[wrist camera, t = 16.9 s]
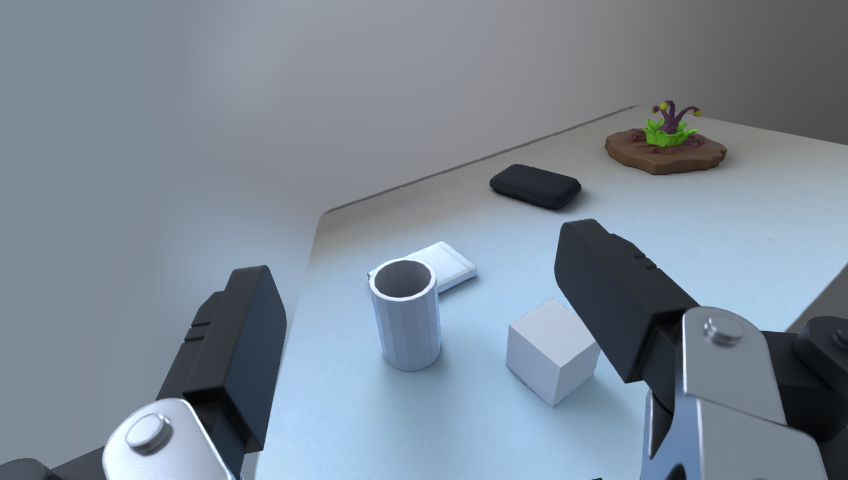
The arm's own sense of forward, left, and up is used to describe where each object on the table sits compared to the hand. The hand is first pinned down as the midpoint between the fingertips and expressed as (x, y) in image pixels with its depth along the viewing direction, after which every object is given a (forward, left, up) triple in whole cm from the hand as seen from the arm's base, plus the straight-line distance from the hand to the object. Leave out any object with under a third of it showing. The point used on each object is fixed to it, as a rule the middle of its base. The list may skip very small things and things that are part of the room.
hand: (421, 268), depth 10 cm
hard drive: (-9, +30, -27) cm, 41 cm away
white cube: (+7, +18, -27) cm, 33 cm away
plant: (+31, +76, -27) cm, 86 cm away
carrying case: (+6, +57, -27) cm, 63 cm away
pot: (-7, +18, -27) cm, 33 cm away
